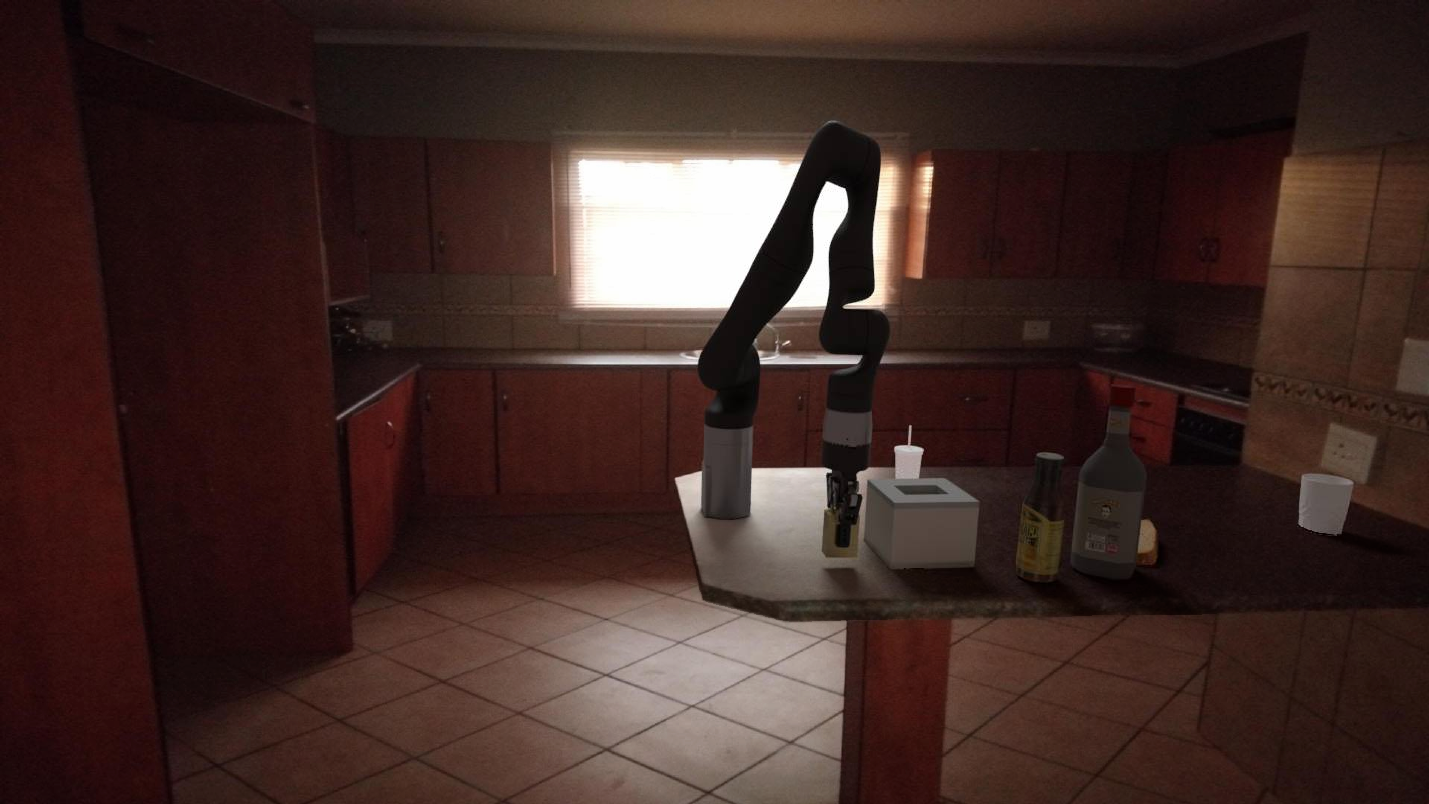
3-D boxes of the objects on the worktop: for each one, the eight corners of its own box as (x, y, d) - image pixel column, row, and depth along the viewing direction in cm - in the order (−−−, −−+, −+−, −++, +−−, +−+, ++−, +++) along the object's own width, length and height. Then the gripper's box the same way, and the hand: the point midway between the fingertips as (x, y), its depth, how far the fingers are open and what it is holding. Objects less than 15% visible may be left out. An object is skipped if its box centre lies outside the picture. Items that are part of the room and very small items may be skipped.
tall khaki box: (826, 557, 131) (828, 515, 130) (821, 550, 134) (824, 509, 133) (856, 557, 132) (860, 515, 131) (851, 550, 135) (854, 509, 134)
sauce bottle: (1008, 570, 134) (1018, 449, 130) (1045, 569, 134) (1057, 449, 131) (1026, 586, 127) (1038, 459, 124) (1065, 585, 128) (1078, 459, 124)
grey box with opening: (890, 569, 133) (894, 502, 131) (864, 539, 146) (867, 479, 144) (974, 567, 134) (979, 501, 133) (940, 538, 148) (944, 478, 146)
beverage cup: (923, 493, 176) (928, 428, 174) (894, 492, 176) (898, 428, 174) (917, 485, 182) (921, 423, 180) (889, 485, 182) (893, 422, 180)
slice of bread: (1138, 570, 136) (1141, 548, 135) (1051, 536, 152) (1053, 516, 151) (1209, 555, 143) (1212, 534, 143) (1119, 524, 159) (1121, 505, 159)
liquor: (1130, 583, 129) (1152, 392, 124) (1067, 571, 134) (1086, 386, 129) (1136, 566, 137) (1158, 385, 131) (1077, 554, 141) (1095, 379, 136)
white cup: (1339, 527, 160) (1347, 476, 158) (1350, 539, 153) (1359, 486, 151) (1290, 521, 163) (1298, 471, 161) (1298, 532, 156) (1306, 481, 154)
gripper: (813, 427, 136) (807, 528, 139) (834, 447, 122) (826, 559, 126) (858, 428, 137) (850, 528, 140) (883, 448, 123) (875, 559, 126)
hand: (839, 542), depth 133 cm, fingers closed on tall khaki box, 3 cm apart
